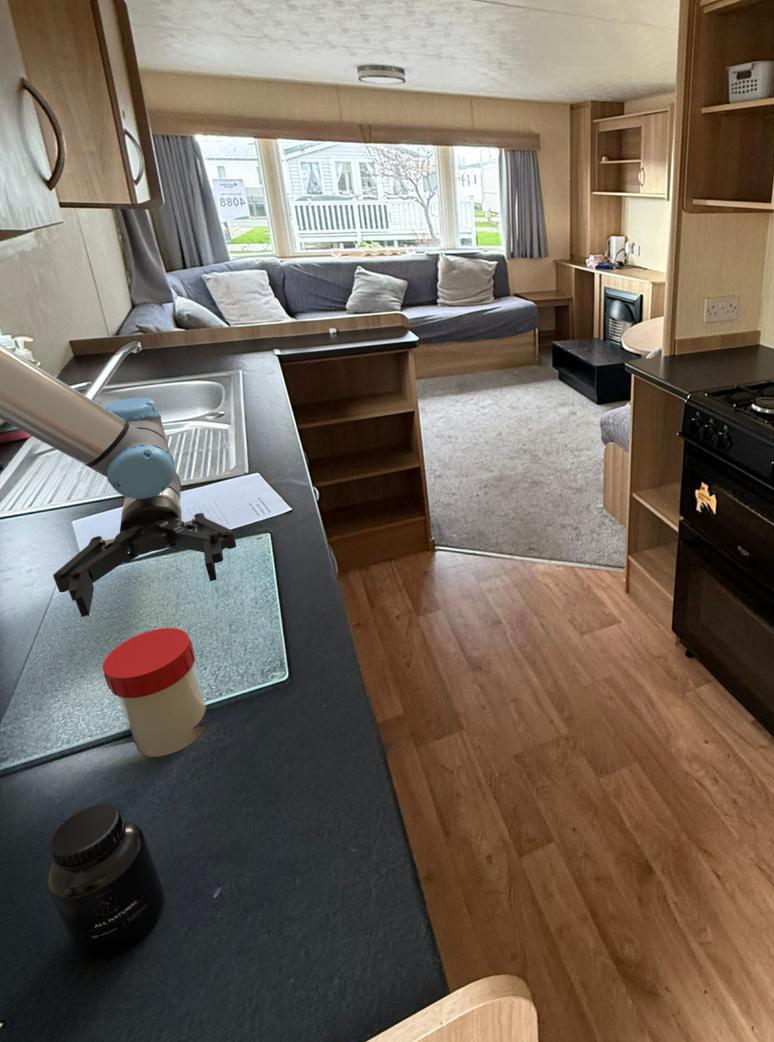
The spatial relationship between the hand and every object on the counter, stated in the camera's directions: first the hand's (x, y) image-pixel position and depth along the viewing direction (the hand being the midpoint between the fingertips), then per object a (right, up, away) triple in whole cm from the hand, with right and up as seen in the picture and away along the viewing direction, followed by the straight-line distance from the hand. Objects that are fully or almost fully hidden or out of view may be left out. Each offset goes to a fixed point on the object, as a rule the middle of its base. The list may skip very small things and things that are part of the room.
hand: (149, 588), depth 81 cm
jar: (+4, -17, -2) cm, 18 cm away
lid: (+4, -6, -6) cm, 10 cm away
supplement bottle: (+13, -25, -22) cm, 36 cm away
